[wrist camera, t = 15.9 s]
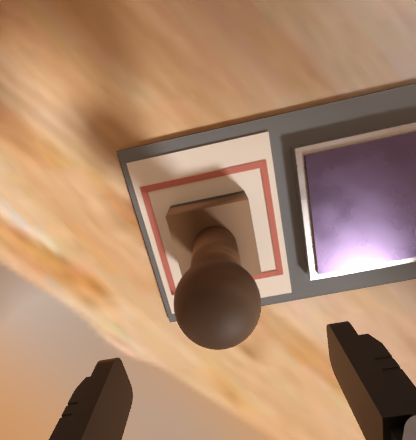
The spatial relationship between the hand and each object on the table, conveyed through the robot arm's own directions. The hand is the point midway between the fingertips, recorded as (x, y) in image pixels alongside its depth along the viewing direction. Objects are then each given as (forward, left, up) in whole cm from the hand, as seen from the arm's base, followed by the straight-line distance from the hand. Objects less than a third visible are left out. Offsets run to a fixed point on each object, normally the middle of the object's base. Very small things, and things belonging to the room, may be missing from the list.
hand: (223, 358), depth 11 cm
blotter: (-5, 0, -14) cm, 15 cm away
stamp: (0, 0, -14) cm, 14 cm away
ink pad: (-12, 0, -14) cm, 18 cm away
